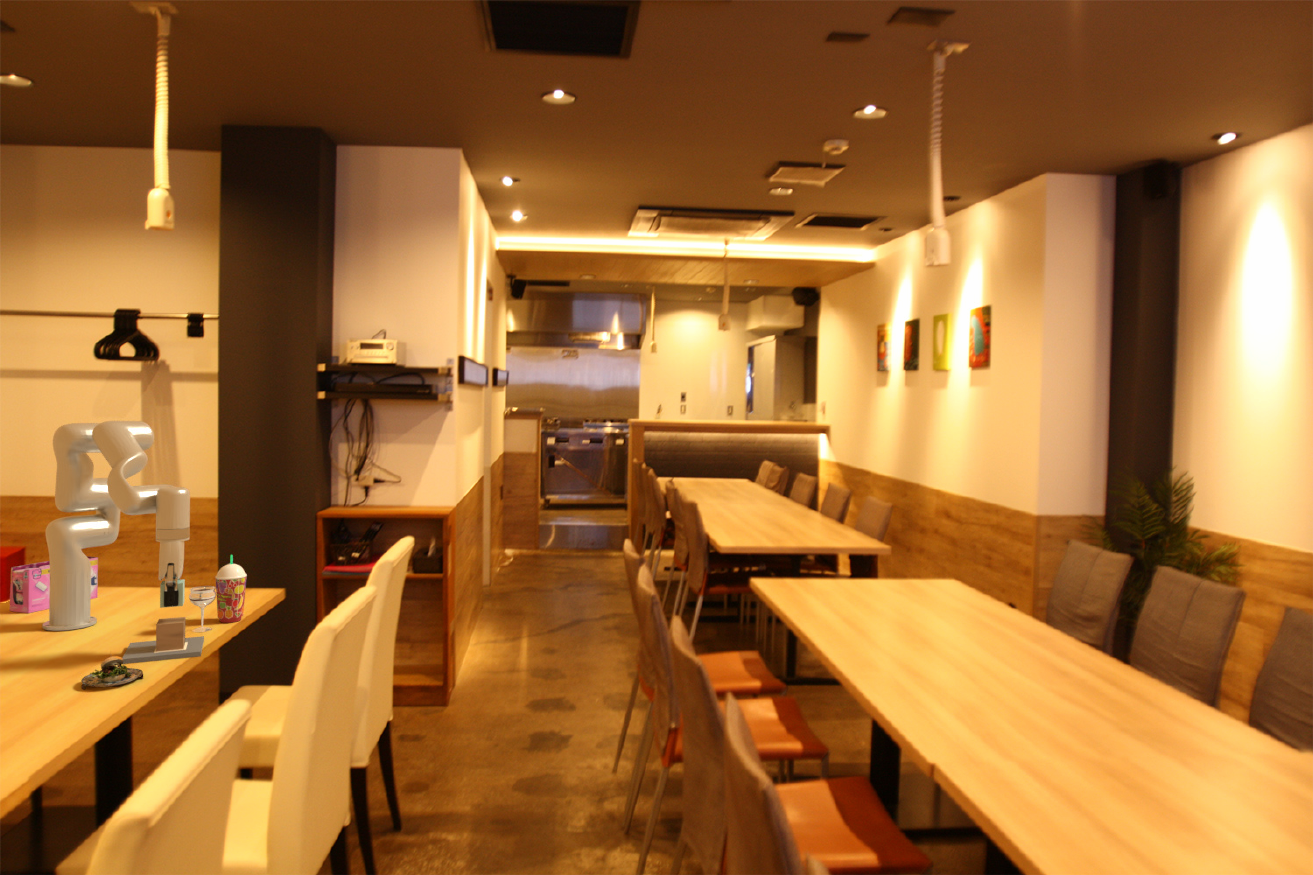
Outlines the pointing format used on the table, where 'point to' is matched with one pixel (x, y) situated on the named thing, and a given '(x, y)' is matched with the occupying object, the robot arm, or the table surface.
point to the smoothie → (230, 592)
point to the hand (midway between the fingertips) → (172, 602)
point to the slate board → (148, 651)
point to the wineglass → (202, 601)
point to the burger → (111, 674)
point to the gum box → (39, 586)
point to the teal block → (180, 587)
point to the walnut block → (170, 634)
